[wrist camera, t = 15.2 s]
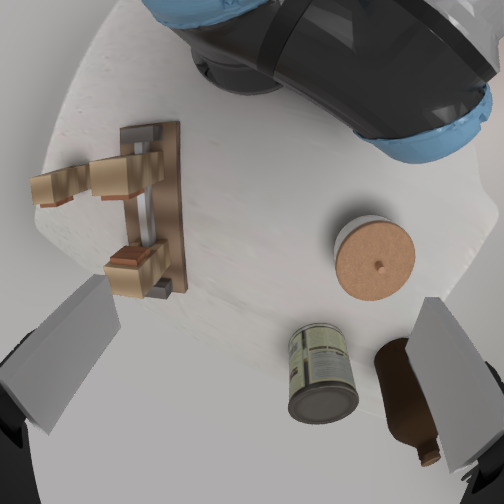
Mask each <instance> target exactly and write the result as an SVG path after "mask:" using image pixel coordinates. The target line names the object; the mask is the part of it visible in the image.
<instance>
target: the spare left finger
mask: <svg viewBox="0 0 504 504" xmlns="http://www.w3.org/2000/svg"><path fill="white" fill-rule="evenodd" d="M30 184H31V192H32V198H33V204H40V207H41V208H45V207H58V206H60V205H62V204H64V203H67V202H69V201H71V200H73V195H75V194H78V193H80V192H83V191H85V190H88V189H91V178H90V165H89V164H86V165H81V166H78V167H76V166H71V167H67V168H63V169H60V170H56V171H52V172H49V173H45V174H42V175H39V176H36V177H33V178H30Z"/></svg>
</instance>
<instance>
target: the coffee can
mask: <svg viewBox="0 0 504 504" xmlns="http://www.w3.org/2000/svg"><path fill="white" fill-rule="evenodd" d="M358 403H359V396H358V393H357V391H356V387H355V382H354V378H353V373H352V369H351V365H350V360H349V356H348V352H347V348H346V344H345V339H344V335H343V334H342V332H341V331H340V330H339V329H338V328H336V327H334V326H332V325H329V324H312V325H308V326H305V327H303V328H301V329H300V330H298V331H297V332H296V333H295V334H294V335H293V336H292V338H291V340H290V342H289V404H288V411H289V414H290V415H291V417H293V418H294V419H295V420H297V421H299V422H303V423H307V424H327V423H332V422H335V421H338V420H340V419H343V418H345V417H346V416H348V415H349V414H351V413H352V412H353V411H354V410H355V409H356V407H357V406H358Z"/></svg>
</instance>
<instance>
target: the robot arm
mask: <svg viewBox="0 0 504 504" xmlns="http://www.w3.org/2000/svg"><path fill="white" fill-rule="evenodd" d="M142 2H143V4H144V5H145V6H146V7H147V8H148V9H149V10H150V12H151V13H152V14H153V17H154V18H155V19H156V20H157V21H158V22H160V23H162V24H163V25H164V26H167V27H169V28H170V29H171V30H172V31H174V32H175V33H176V34H177V35H178V36H180V37H181V38H182V39H183V40H184V41H186V42H187V43H188V44H189V45H190V46H191V52H192V57H193V60H194V63H195V65H196V67H197V68H198V70H199V71H200V73H201V74H202V75H203V76H204V77H205V78H206V79H207V80H209V81H210V82H211V83H213V84H214V85H215V86H217V87H219V88H221V89H223V90H225V91H228V92H231V93H235V94H240V95H258V94H264V93H268V92H271V91H274V90H277V89H279V88H281V87H283V86H286V87H288V88H290V89H291V90H293V91H295V92H296V93H298V94H300V95H302V96H303V97H305V98H306V99H308V100H310V101H311V102H313V103H314V104H316V105H318V106H319V107H321V108H322V109H324V110H325V111H327V112H328V113H330V114H331V115H333V116H334V117H336V118H337V119H339V120H340V121H342V122H343V123H344V124H346V125H347V126H349V127H350V128H351V129H353V132H354V133H355V134H356V135H357V136H358V137H359V138H360V139H362V140H364V141H367V142H369V143H372V144H373V145H374V146H376V147H377V148H379V149H380V150H381V151H383V152H384V153H385V154H387V155H388V156H389V157H391V158H393V159H395V160H398V161H401V162H404V163H409V164H422V163H428V162H432V161H436V160H439V159H441V158H444V157H446V156H448V155H450V154H452V153H454V152H456V151H457V150H459V149H460V148H462V147H463V146H465V145H466V144H467V143H468V142H470V141H471V140H472V139H473V138H474V137H475V136H476V135H477V134H478V133H479V131H480V130H481V126H480V123H482V122H484V121H487V120H488V118H489V116H490V113H491V110H492V94H491V92H490V87H489V85H488V83H487V82H488V81H489V80H490V79H492V78H493V77H494V76H495V75H496V74H497V73H499V72H500V64H499V52H498V44H499V40H500V39H501V38H502V37H503V36H504V0H142ZM120 328H121V325H120V322H119V318H118V315H117V311H116V307H115V304H114V300H113V296H112V292H111V287H110V283H109V279H108V276H105V275H97V274H94V275H93V276H92V277H91V278H89V279H88V280H87V281H86V282H85V283H84V284H83V285H82V286H81V287H80V288H78V289H77V290H76V291H75V292H74V293H73V294H72V295H71V296H70V297H69V298H67V299H66V300H65V301H64V302H63V303H62V304H61V305H60V306H59V307H58V308H57V309H56V310H55V311H54V312H53V313H52V314H51V315H50V316H49V317H48V318H47V319H46V320H45V321H44V322H43V323H42V324H41V325H40V326H39V327H38V328H36V329H35V330H33V331H31V332H30V333H28V334H27V335H26V336H25V337H24V338H23V339H22V340H21V341H20V344H17V346H16V347H15V348H14V350H12V351H11V352H10V353H9V354H8V355H7V357H6V358H5V359H4V360H3V361H2V362H1V363H0V504H41V501H40V498H39V494H38V490H37V485H36V481H35V476H34V471H33V466H32V460H31V453H30V446H29V437H28V429H27V425H26V423H25V422H24V421H25V419H26V418H27V419H28V420H29V421H30V422H31V423H32V424H33V425H34V427H36V428H37V429H39V430H41V431H42V432H44V433H45V434H47V435H49V434H50V432H51V431H52V429H53V428H54V426H55V424H56V423H57V421H58V419H59V418H60V416H61V415H62V413H63V411H64V409H65V408H66V407H67V405H68V403H69V402H70V400H71V399H72V397H73V396H74V394H75V393H76V391H77V390H78V388H79V387H80V385H81V383H82V382H83V381H84V379H85V378H86V376H87V375H88V373H89V372H90V370H91V369H92V367H93V366H94V364H95V363H96V362H97V360H98V358H99V357H100V356H101V354H102V353H103V352H104V350H105V349H106V347H107V346H108V345H109V343H110V342H111V340H112V339H113V338H114V336H115V335H116V334H117V332H118V331H119V330H120ZM405 350H406V352H407V354H408V356H409V359H410V361H411V363H412V366H413V368H414V370H415V373H416V375H417V378H418V380H419V382H420V385H421V387H422V390H423V392H424V395H425V398H426V400H427V403H428V406H429V408H430V411H431V414H432V417H433V419H434V422H435V425H436V428H437V431H438V434H439V437H440V440H441V444H442V447H443V450H444V453H445V457H446V460H447V464H448V467H449V471H450V474H452V473H455V472H457V471H460V470H462V469H465V468H467V467H468V466H469V465H471V463H473V462H474V461H475V460H478V463H479V464H478V465H476V466H475V467H474V468H473V469H471V470H470V471H469V472H467V473H466V474H465V475H464V476H463V477H462V479H461V480H462V481H464V480H465V479H466V478H467V477H469V476H470V475H472V476H471V478H469V479H468V480H467V481H466V482H467V483H469V484H468V486H467V489H466V491H465V493H464V496H463V498H462V500H461V502H460V504H504V383H503V382H501V378H500V376H499V375H498V374H497V371H496V370H495V369H494V368H493V367H492V366H491V365H490V364H489V363H488V362H487V361H486V362H484V360H483V359H482V357H481V356H480V354H479V353H478V351H477V349H476V348H475V347H474V345H473V343H472V342H471V340H470V339H469V337H468V336H467V335H466V333H465V332H464V330H463V329H462V327H461V326H460V325H459V323H458V322H457V320H456V319H455V318H454V316H453V315H452V314H451V312H450V311H449V310H448V308H447V307H446V306H445V304H444V303H443V302H442V300H441V299H440V298H439V297H425V299H424V302H423V305H422V308H421V310H420V313H419V316H418V318H417V321H416V323H415V326H414V328H413V331H412V333H411V336H410V338H409V340H408V343H407V345H406V347H405Z"/></svg>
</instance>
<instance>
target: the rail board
mask: <svg viewBox="0 0 504 504" xmlns="http://www.w3.org/2000/svg"><path fill="white" fill-rule="evenodd" d="M155 151H163V156H164V180H161V181H159V182H157V183H154V184H152V185H150V186H147V187H145V188H144V189H145V192H144V193H142V194H140V195H138V196H136V197H134V198H132V199H130V200H124V210H125V219H126V227H127V235H128V242H129V245H130V244H131V243H132V242H134V241H135V240H136V239H137V238H141V240H142V247H150V248H151V247H152V246H153V245H154V244H155V243H156V242H157V241H158V240H159V239H166V240H168V243H169V254H170V263H171V264H170V265H169V267H168V268H167V269H166V270H165V272H164V273H163V274H162V275H161V277H160V278H159V279H158V280H157V282H156V283H155V284H154V286H153V287H152V288H151V289H150V291H149V292H148V293H147V295H146V296H145V297H152V298H159V299H167V298H168V297H169V295H170V294H171V292H177V293H186V291H187V289H188V285H187V274H186V263H185V251H184V237H183V222H182V202H181V175H180V122H165V123H155V124H146V125H138V126H131V127H124V128H120V154H121V155H126V154H131V153H135V154H143V153H149V152H155Z"/></svg>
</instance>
